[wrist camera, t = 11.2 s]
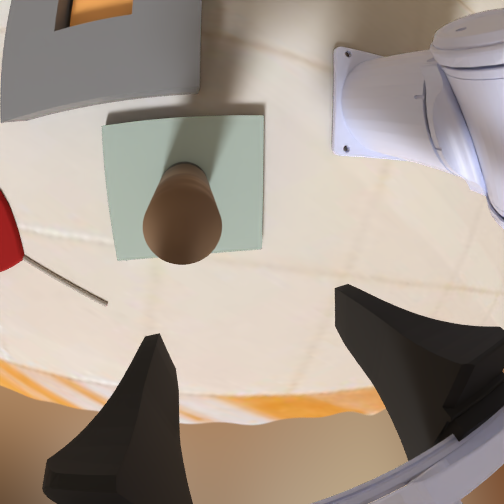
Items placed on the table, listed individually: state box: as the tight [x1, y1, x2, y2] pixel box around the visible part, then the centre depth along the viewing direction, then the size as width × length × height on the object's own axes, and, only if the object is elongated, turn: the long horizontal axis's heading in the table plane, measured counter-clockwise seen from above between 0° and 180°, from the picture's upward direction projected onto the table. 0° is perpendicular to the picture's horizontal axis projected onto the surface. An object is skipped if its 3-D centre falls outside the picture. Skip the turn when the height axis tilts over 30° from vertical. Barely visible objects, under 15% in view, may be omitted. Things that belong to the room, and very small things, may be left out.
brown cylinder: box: [143, 162, 222, 265], centre depth 15 cm, size 3×3×8 cm
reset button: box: [70, 0, 133, 27], centre depth 12 cm, size 4×4×1 cm
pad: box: [102, 115, 264, 261], centre depth 19 cm, size 10×9×1 cm
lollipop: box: [0, 190, 108, 307], centre depth 18 cm, size 8×1×15 cm
